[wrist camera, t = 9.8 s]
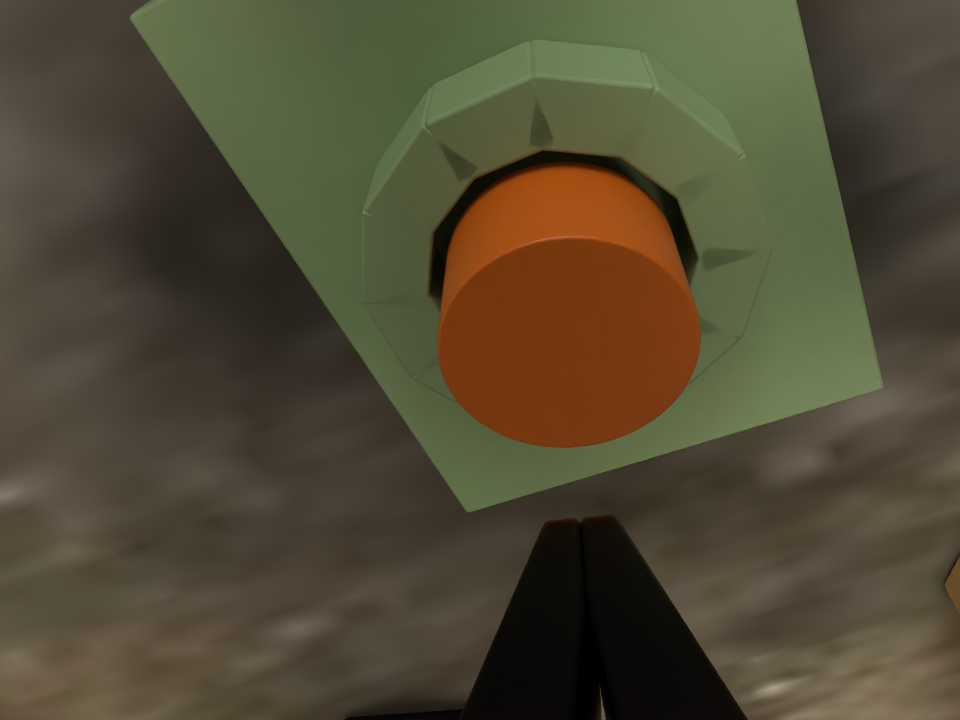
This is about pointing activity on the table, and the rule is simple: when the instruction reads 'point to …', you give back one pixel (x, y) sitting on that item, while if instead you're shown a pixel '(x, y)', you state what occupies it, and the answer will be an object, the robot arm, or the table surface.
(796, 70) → the green flat block
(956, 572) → the board
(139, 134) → the table surface
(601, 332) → the orange short cylinder
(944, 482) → the table surface
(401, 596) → the table surface
